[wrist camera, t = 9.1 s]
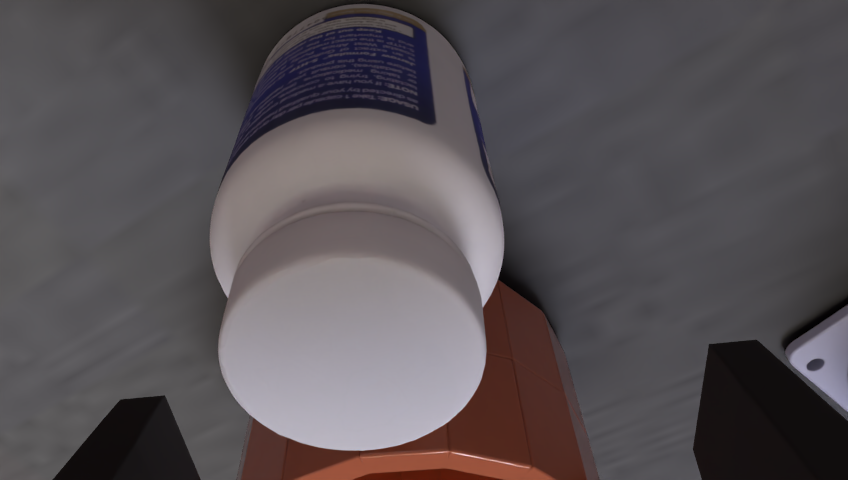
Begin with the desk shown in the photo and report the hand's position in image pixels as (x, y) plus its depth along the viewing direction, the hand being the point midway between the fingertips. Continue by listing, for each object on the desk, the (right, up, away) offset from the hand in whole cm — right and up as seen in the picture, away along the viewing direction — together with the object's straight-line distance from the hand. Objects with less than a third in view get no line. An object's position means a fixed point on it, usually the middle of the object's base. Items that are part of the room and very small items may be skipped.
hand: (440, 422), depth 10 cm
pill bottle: (-2, +6, +8) cm, 10 cm away
